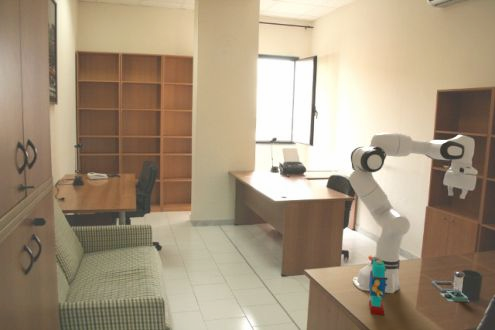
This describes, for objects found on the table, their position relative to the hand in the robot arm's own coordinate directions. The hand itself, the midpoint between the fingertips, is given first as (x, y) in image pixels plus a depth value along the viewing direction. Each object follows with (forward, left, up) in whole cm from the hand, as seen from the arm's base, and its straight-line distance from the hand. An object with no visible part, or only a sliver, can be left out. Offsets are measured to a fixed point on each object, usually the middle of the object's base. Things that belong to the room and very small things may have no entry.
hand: (456, 197), depth 202 cm
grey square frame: (-1, -3, -46) cm, 46 cm away
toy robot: (-45, -26, -46) cm, 70 cm away
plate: (-3, -14, -46) cm, 48 cm away
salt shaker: (-2, -14, -45) cm, 47 cm away
